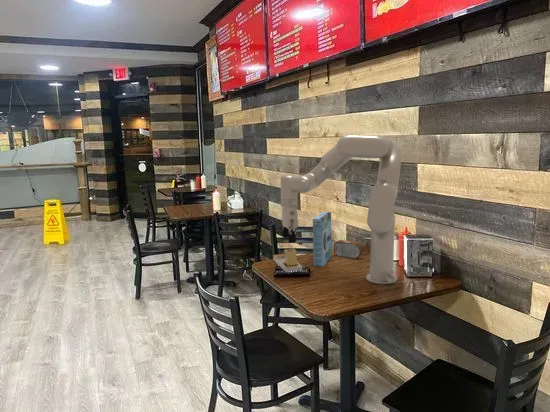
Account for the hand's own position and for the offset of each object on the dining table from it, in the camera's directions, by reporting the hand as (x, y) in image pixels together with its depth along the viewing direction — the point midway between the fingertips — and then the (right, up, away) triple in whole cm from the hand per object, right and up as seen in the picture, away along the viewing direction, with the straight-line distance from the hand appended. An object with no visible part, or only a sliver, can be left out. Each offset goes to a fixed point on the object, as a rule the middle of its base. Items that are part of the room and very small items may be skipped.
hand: (289, 239), depth 192 cm
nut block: (+1, -14, +2) cm, 14 cm away
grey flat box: (-1, -13, +8) cm, 16 cm away
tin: (+30, -11, +21) cm, 38 cm away
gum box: (+17, -12, +15) cm, 26 cm away
